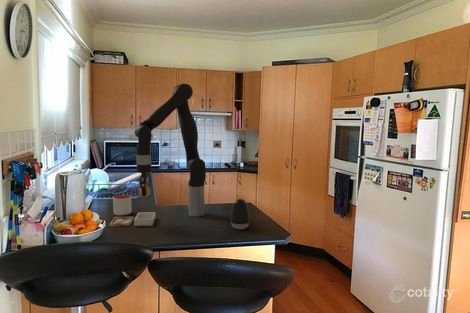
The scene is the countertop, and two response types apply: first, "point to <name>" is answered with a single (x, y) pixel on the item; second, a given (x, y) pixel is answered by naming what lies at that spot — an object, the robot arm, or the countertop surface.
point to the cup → (122, 205)
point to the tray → (122, 221)
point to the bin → (144, 219)
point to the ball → (146, 191)
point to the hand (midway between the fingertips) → (144, 194)
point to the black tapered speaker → (240, 215)
